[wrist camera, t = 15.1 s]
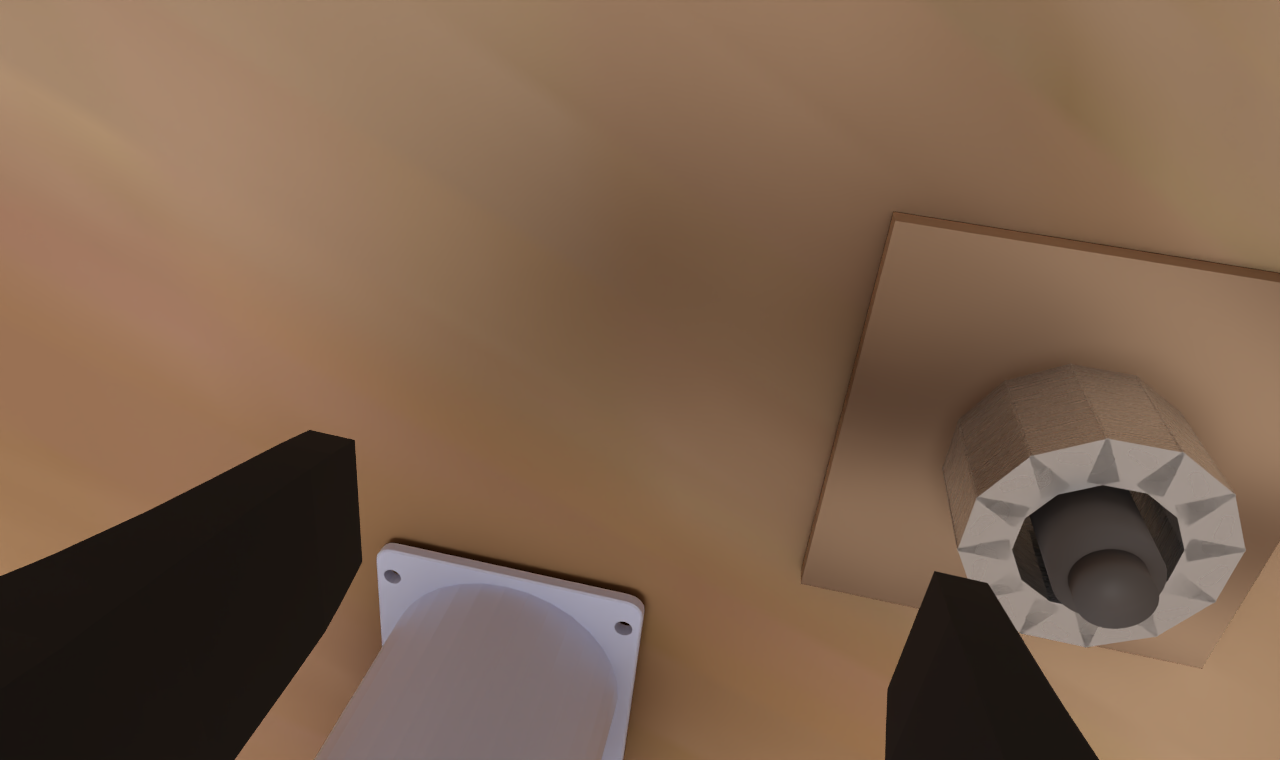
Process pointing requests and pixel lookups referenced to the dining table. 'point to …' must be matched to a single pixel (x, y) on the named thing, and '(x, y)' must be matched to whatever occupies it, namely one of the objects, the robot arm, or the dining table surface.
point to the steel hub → (1079, 459)
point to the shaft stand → (1029, 343)
